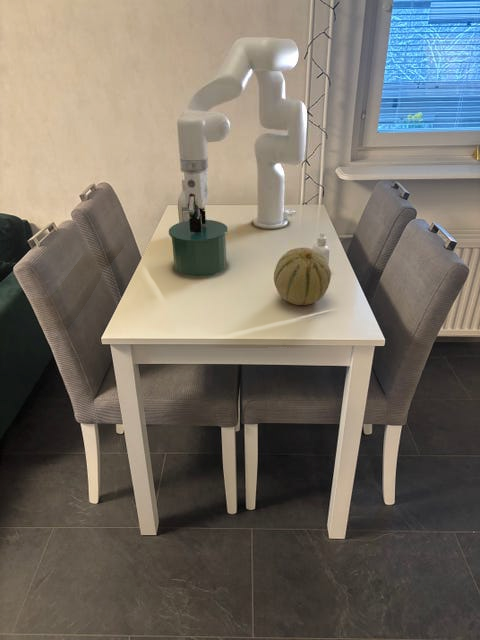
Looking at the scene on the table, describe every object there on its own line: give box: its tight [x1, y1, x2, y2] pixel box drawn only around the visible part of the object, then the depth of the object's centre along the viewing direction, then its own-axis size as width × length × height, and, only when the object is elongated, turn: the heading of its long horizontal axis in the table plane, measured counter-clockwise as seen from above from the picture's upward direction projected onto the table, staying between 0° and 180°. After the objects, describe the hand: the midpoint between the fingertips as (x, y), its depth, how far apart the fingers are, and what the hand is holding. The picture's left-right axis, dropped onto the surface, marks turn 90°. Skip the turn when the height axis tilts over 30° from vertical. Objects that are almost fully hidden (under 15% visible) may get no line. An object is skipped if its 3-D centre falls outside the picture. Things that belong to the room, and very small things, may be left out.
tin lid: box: [168, 212, 229, 242], centre depth 145 cm, size 17×17×6 cm
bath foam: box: [177, 177, 195, 223], centre depth 169 cm, size 7×7×20 cm
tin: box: [171, 234, 227, 278], centre depth 149 cm, size 16×16×12 cm
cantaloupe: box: [273, 247, 332, 306], centre depth 128 cm, size 15×15×15 cm
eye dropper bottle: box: [312, 232, 330, 265], centre depth 144 cm, size 4×6×12 cm
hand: (198, 227), depth 145 cm, fingers open, 5 cm apart
